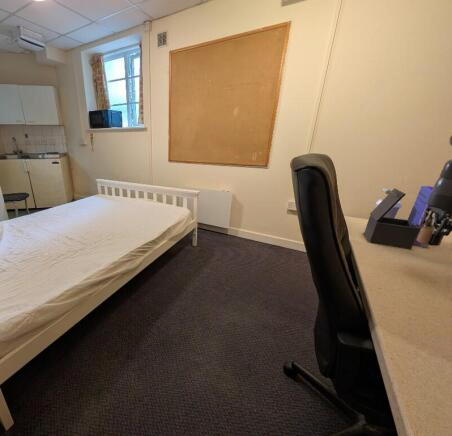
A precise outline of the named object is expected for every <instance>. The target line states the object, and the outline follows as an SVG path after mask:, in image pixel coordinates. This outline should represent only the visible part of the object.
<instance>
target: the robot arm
mask: <svg viewBox="0 0 452 436" xmlns="http://www.w3.org/2000/svg"><path fill="white" fill-rule="evenodd" d="M448 142H449V145H450V146H451V147H452V134H451V135H450V137H449V141H448ZM432 187H433V190H432V192H431V194H430V197H429V199H428V201H427V205H428V206H431V207H432V208H429V207H427V208H426V210H425V213H424V216H423V220H422V224H424V225H423V226H430V227H433V230H432V234H431V236H430V238H429V240H428V242H427V243H428V244H429V245H428V246H431V245H435V246H434V247H438V246H437V245H438V244H439V242H440V240H441V238H442V236H444V237H449V236H450V234H451V232H452V158H449V159H448V160H446V162H445V163H444V165H443V167H442V169H441V172H440V174H439V176H438V179H437V180H436V182H435V183H434V185H433V186H432ZM437 228H438V229H437Z"/></svg>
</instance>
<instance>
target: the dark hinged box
mask: <svg viewBox="0 0 452 436" xmlns="http://www.w3.org/2000/svg"><path fill="white" fill-rule="evenodd" d="M419 230H420V228H419V227H417V226H416V225H415V224H413V223H412V222H411V221H410V220H408V219H404V218H403V219H402V218H396V217H395V218H388V217H383V218H382V219H381V220H380V221H379V222H377V221H376V220H375V219H374V218H373V217H372V216H371V215H370V214H369V218H368V221H367V223H366V226H365V228H364V231H363V234H364V236H365V238H366V240H367V241H368V242H369V243H372V244H376V245H377V244H378V245H382V246H389V247H394V248H399V249H405V250H412V248H413V246H414V245H413V244H414V241H415V239H416V237H417V235H418V232H419Z"/></svg>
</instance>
